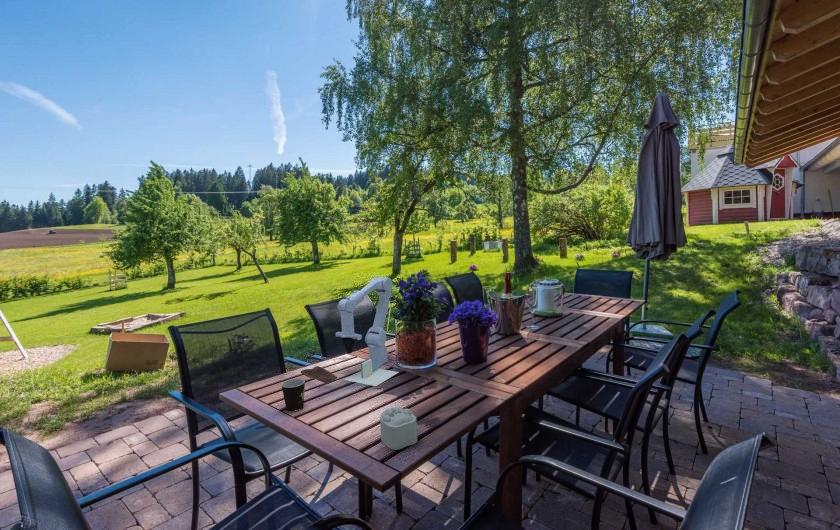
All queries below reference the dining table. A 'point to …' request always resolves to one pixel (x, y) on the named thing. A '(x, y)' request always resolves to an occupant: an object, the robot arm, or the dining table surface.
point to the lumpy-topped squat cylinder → (398, 428)
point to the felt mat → (372, 377)
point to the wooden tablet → (320, 374)
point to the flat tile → (375, 368)
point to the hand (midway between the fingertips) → (349, 352)
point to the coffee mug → (293, 394)
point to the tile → (366, 368)
